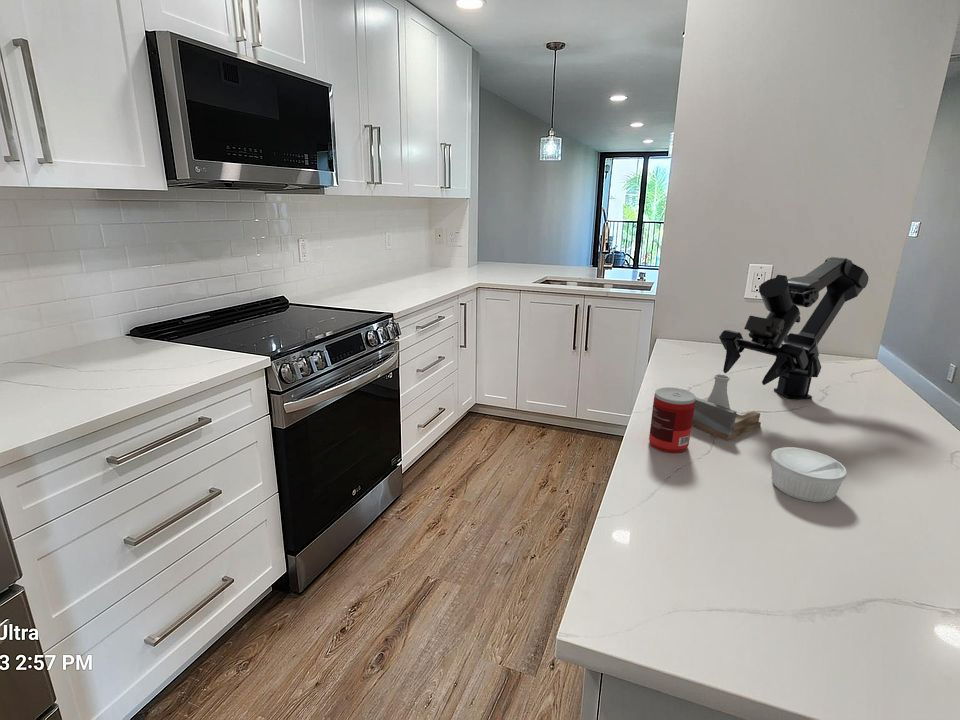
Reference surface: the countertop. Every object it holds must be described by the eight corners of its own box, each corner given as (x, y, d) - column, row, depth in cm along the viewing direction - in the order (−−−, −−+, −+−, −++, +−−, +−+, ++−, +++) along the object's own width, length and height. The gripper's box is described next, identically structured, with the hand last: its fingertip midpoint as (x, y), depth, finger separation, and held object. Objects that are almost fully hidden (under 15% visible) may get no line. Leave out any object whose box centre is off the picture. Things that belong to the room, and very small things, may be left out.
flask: (726, 428, 114) (734, 384, 111) (692, 418, 118) (699, 376, 115) (737, 418, 119) (745, 376, 116) (704, 409, 124) (711, 369, 121)
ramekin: (841, 514, 85) (848, 485, 84) (763, 493, 91) (769, 465, 89) (839, 484, 94) (845, 457, 93) (768, 467, 100) (773, 441, 98)
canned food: (687, 439, 110) (695, 390, 107) (688, 456, 103) (696, 403, 100) (649, 433, 113) (655, 384, 109) (647, 449, 105) (654, 398, 102)
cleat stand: (707, 407, 128) (710, 383, 126) (760, 426, 118) (765, 401, 116) (673, 418, 121) (676, 394, 119) (726, 440, 110) (731, 413, 109)
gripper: (729, 296, 126) (695, 347, 123) (813, 310, 112) (775, 369, 109) (742, 324, 133) (710, 374, 130) (822, 341, 118) (788, 397, 116)
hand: (743, 377), depth 121 cm, fingers open, 9 cm apart
